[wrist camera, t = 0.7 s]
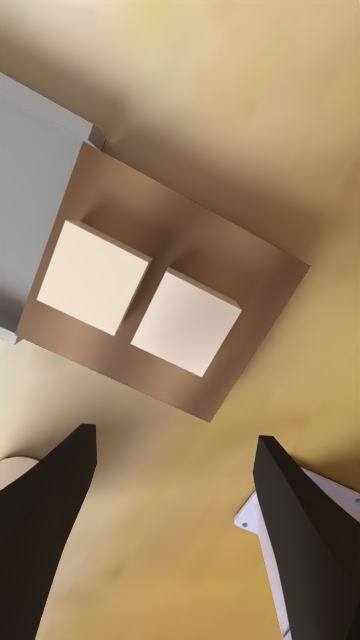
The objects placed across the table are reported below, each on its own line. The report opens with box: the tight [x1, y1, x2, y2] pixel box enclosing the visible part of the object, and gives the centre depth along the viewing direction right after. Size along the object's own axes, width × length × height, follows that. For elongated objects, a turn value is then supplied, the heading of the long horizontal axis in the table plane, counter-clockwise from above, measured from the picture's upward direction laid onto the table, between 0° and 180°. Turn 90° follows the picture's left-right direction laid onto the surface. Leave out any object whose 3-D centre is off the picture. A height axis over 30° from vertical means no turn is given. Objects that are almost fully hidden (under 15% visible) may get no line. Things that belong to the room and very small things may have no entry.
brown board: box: [15, 141, 310, 423], centre depth 19 cm, size 14×12×3 cm
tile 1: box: [131, 267, 242, 377], centre depth 17 cm, size 4×4×2 cm
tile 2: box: [37, 220, 153, 336], centre depth 16 cm, size 4×4×2 cm
